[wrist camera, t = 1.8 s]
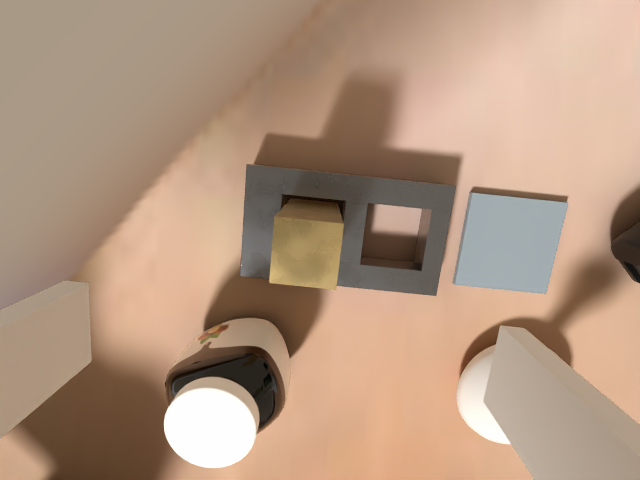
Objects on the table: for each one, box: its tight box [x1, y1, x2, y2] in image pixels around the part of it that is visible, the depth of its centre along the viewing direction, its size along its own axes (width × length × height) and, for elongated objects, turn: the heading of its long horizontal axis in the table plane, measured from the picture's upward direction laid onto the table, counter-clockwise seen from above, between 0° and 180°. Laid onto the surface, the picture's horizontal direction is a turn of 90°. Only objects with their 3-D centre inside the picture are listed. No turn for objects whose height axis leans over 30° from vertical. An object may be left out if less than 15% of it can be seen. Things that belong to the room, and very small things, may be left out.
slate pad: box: [453, 192, 568, 294], centre depth 35 cm, size 9×9×1 cm
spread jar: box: [164, 317, 291, 468], centre depth 33 cm, size 12×11×12 cm
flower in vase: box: [456, 344, 560, 444], centre depth 26 cm, size 13×11×25 cm
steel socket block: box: [240, 164, 456, 296], centre depth 33 cm, size 18×10×3 cm, turn 84°
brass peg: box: [269, 198, 344, 290], centre depth 29 cm, size 4×4×12 cm
